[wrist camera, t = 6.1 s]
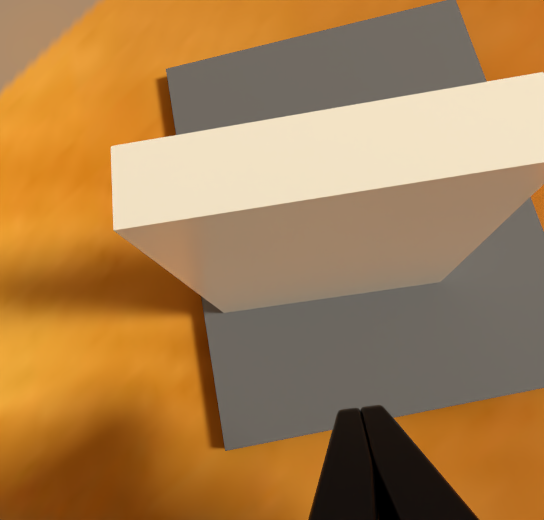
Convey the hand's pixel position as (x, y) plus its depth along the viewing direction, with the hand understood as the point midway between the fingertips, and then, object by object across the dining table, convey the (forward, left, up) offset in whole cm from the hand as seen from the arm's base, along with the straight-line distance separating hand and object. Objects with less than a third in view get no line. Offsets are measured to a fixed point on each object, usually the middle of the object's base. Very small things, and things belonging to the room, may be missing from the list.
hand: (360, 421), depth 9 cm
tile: (+4, 0, -7) cm, 8 cm away
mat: (+7, -2, -7) cm, 10 cm away
